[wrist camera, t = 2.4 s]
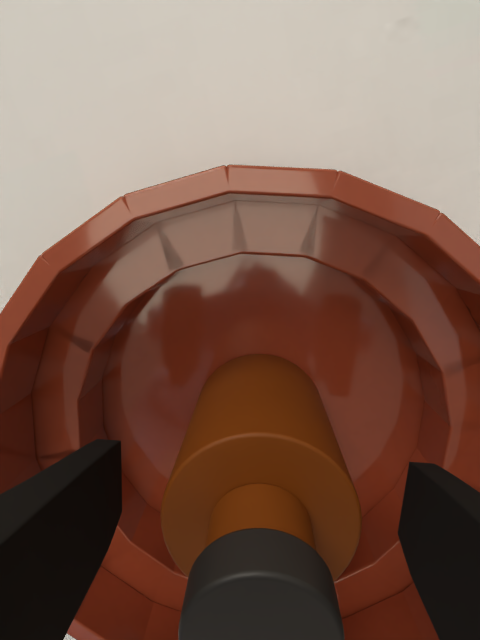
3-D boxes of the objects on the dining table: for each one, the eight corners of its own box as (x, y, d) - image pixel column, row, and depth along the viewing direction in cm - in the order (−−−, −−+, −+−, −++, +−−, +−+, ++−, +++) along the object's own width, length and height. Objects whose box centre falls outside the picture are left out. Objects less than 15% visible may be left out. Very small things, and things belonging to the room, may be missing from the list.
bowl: (434, 591, 16) (502, 729, 11) (66, 561, 16) (-5, 681, 12) (511, 201, 12) (649, 184, 8) (45, 178, 13) (-63, 149, 9)
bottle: (316, 472, 14) (385, 763, 6) (195, 463, 14) (121, 737, 7) (328, 357, 13) (428, 534, 5) (199, 348, 13) (117, 509, 6)
